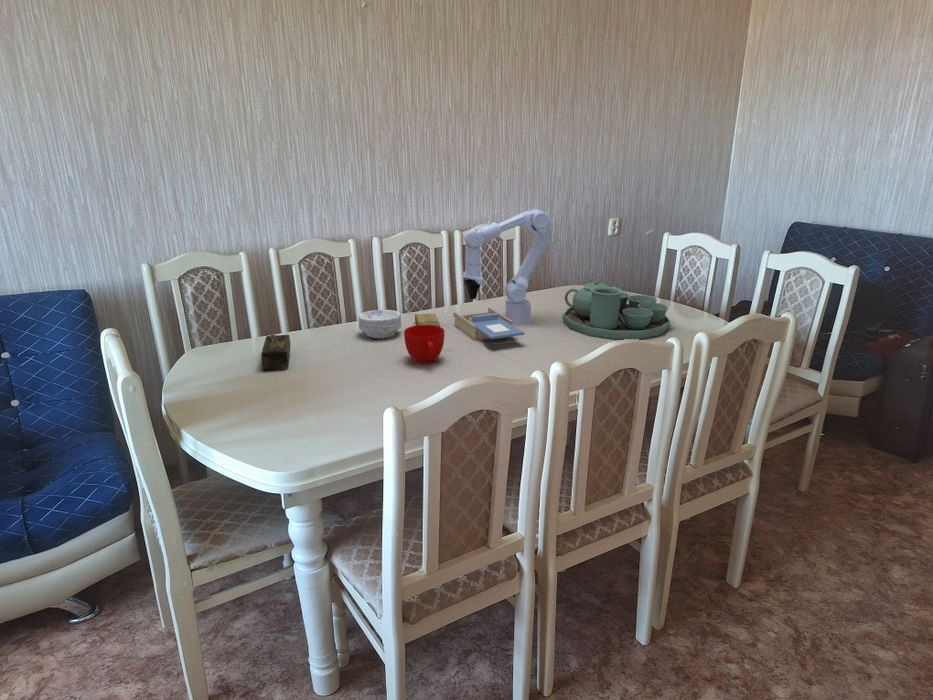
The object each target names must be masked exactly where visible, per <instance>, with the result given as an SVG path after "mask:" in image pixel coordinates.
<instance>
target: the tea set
mask: <svg viewBox="0 0 933 700" xmlns="http://www.w3.org/2000/svg"><path fill="white" fill-rule="evenodd" d="M572 292H574V294H573V295H572V296H573V297H572V303H570V301H569V300H568V295H569V294H570V293H572ZM657 301H658V299H657V298H656V297H654V296H651V295H646V294H643V295H642V294H637V295H635V294H633V295H630V294H629V293H627V292H624V290H622V289H621V288H618V287H617V286H608V285H607V284H606V283H602V282H599V281H598V280H596V281H595V280H594V282H588V283H585V284H584V285H583V288H580V289H577V288H571V289H568V290H567V292H566V293H565V295H564V302H565V303H566V305H567V306H568V308H567V309H566V310H565V311H564V312H563V314H562V321H563V322H564V324H565V325H566V326H567V327H568V328H570V330H573V331H576V332H578V333H581V334H583V335H587V336H591V337H598V338H602V339H603V338H605V339H609V340H610V339H613V340H642V339H648V338H652V337H659V336H661V335H662V334H664V333H665V332H666V331H667V330H668V329H669V327H670V326H671V321H670V319H669V318H668V315H666V313H667V312H668V309H669V307H668V305H666V304H664V303H659V302H657Z"/></svg>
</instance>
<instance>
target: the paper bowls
mask: <svg viewBox="0 0 933 700" xmlns="http://www.w3.org/2000/svg"><path fill="white" fill-rule="evenodd" d="M358 327H359V328H358V329H359V330H360V331H362V332H364V333H365V335H366V336H367V337H369V338H370V339H371V338H372V339H378V340H379V339H387V338H391V337H394V335H395V334H396V333H397V330H399V329H401V327H402V315H401V313H400V312H399V311H396V310H392V309H374V310H373V309H372V310H368V311H364V312H361V313H360V314H359V315H358Z"/></svg>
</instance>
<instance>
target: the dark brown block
mask: <svg viewBox="0 0 933 700" xmlns="http://www.w3.org/2000/svg"><path fill="white" fill-rule="evenodd" d="M264 340H265V341H264V342H263V346H262V349H261V355H260V356H261V365H262V371H263V372H270V371H288V369H289V365H290V357H291V339H290V334H278V335H276V334H269V335H267V336H266V337H265V339H264Z"/></svg>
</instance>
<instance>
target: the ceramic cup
mask: <svg viewBox="0 0 933 700" xmlns="http://www.w3.org/2000/svg"><path fill="white" fill-rule="evenodd" d="M403 336H404V337H403V338H404V344H405V348H406V351H407V353H408V354H409V356H410V357H411V358H412V359H413V361H414V362H416V363H418V364H430V362H431V363H433V362H435V361H436V360H437V358H438V357H439V356H440V355H441V353H442V350H443V348H444V345H445V344H444V342H445V329H444V328H443V327H441V326H440V327H439V326H434V325H412V326H408V327H407V328H405V329H404V330H403Z"/></svg>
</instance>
